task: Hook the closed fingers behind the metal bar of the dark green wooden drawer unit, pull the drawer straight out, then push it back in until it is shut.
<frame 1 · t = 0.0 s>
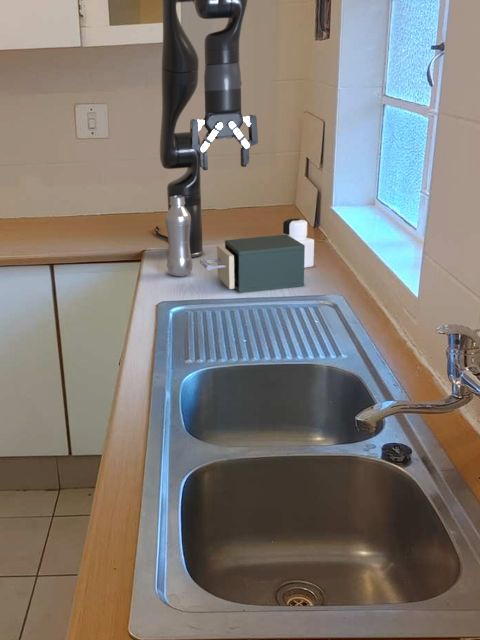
hand: (224, 168, 161), 29 cm above the worktop, tool pointing down, fingers open, 8 cm apart
drawer: (242, 264, 181), point 5 cm above the worktop, slide at 1.0 cm
silver metal bottle: (180, 275, 194), on the worktop
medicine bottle: (294, 266, 196), on the worktop
cabinet: (263, 282, 183), on the worktop
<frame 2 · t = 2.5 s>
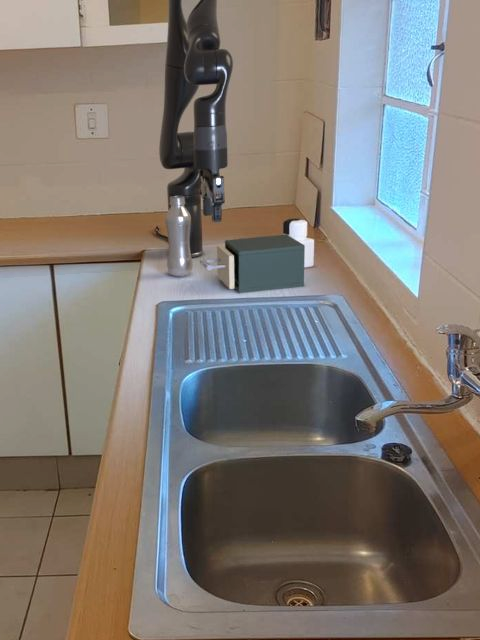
hand: (212, 218, 175), 17 cm above the worktop, tool pointing down, fingers open, 8 cm apart
nothing on the worktop moved.
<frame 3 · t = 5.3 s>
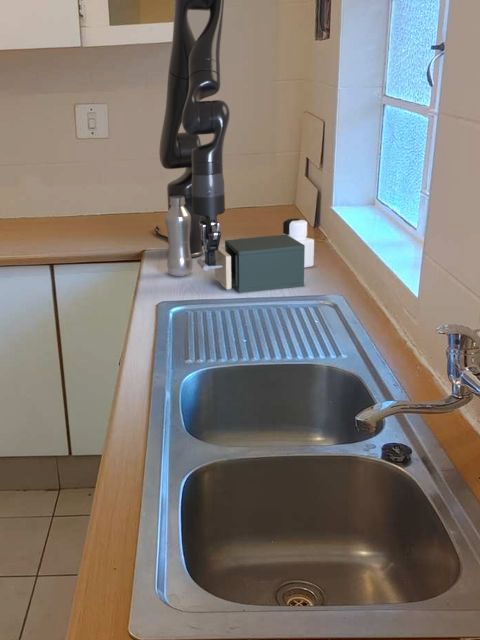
hand: (210, 266, 179), 5 cm above the worktop, tool pointing down, fingers closed
drawer: (239, 265, 181), point 5 cm above the worktop, slide at 1.7 cm, touching gripper
everything else where it was.
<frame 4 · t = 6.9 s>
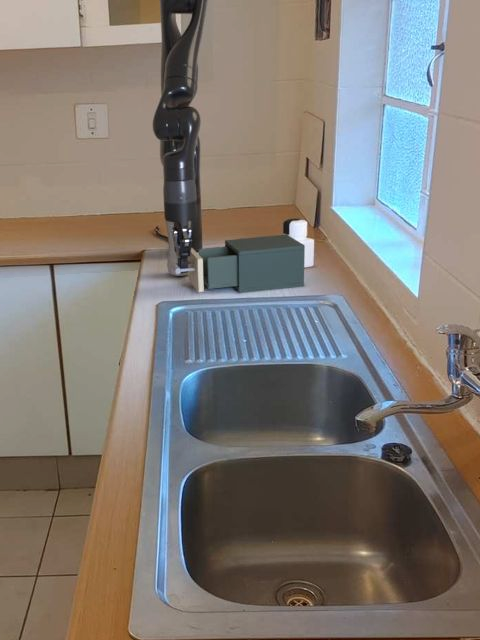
hand: (183, 272, 179), 5 cm above the worktop, tool pointing down, fingers closed
drawer: (212, 267, 180), point 5 cm above the worktop, slide at 8.4 cm, touching gripper
everything else where it was.
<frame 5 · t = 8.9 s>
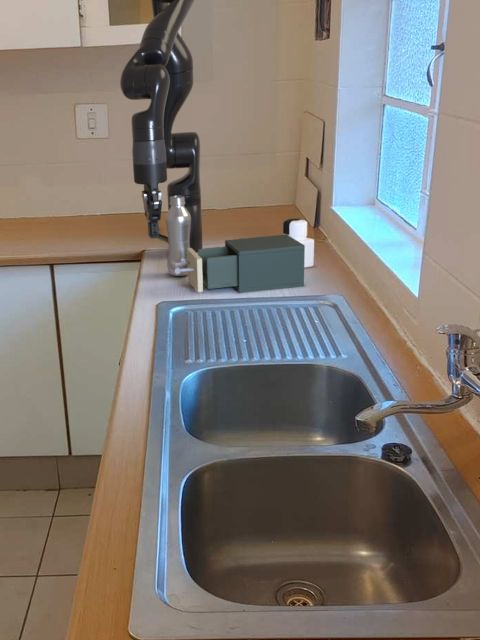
hand: (153, 237, 175), 14 cm above the worktop, tool pointing down, fingers closed
drawer: (212, 267, 180), point 5 cm above the worktop, slide at 8.6 cm
everything else where it was.
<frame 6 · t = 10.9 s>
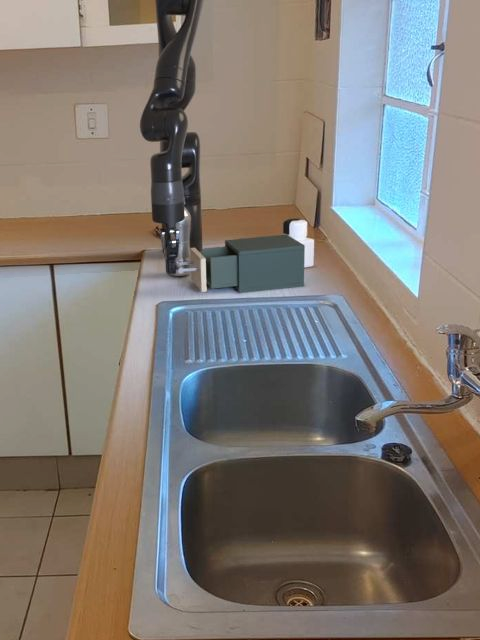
hand: (171, 273, 179), 5 cm above the worktop, tool pointing down, fingers closed
drawer: (215, 267, 180), point 5 cm above the worktop, slide at 7.7 cm, touching gripper
everything else where it was.
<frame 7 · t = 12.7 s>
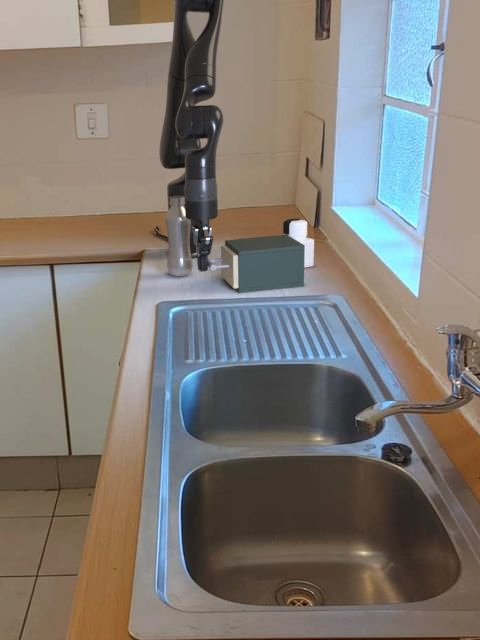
hand: (202, 270, 180), 4 cm above the worktop, tool pointing down, fingers closed
drawer: (246, 264, 181), point 5 cm above the worktop, slide at 0.0 cm, touching cabinet, gripper
everything else where it was.
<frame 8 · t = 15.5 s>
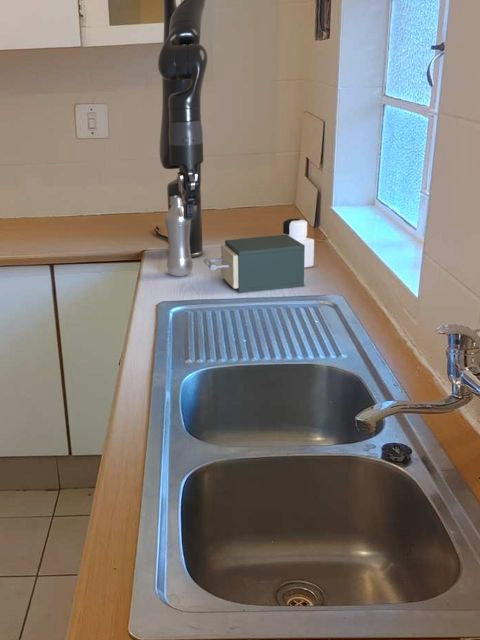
hand: (188, 219, 174), 17 cm above the worktop, tool pointing down, fingers closed
drawer: (246, 264, 181), point 5 cm above the worktop, slide at 0.0 cm, touching cabinet
everything else where it was.
at the end: drawer pulled out 8.6 cm at the most during the clip, back to where it started at the end; drawer slide at 0.0 cm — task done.
